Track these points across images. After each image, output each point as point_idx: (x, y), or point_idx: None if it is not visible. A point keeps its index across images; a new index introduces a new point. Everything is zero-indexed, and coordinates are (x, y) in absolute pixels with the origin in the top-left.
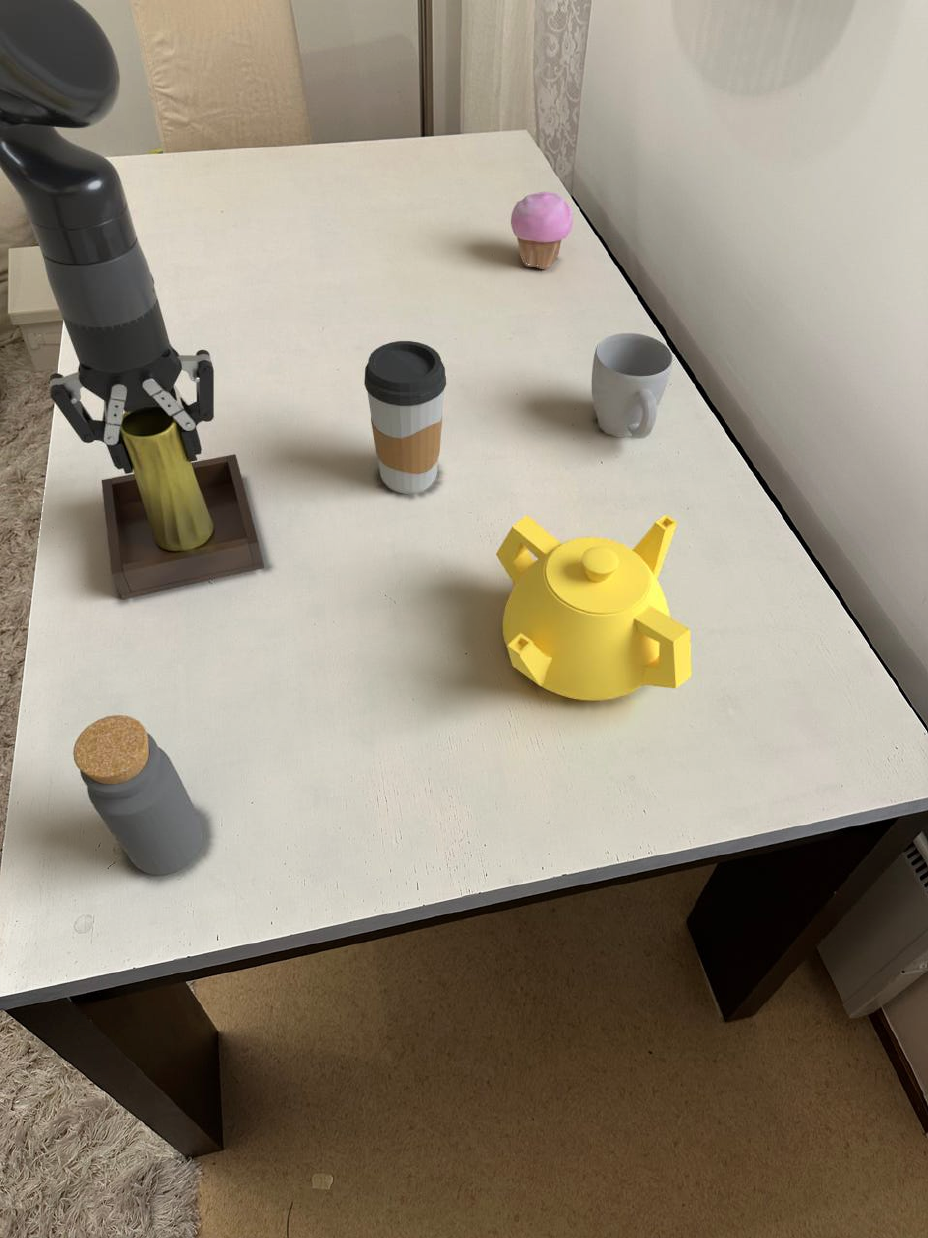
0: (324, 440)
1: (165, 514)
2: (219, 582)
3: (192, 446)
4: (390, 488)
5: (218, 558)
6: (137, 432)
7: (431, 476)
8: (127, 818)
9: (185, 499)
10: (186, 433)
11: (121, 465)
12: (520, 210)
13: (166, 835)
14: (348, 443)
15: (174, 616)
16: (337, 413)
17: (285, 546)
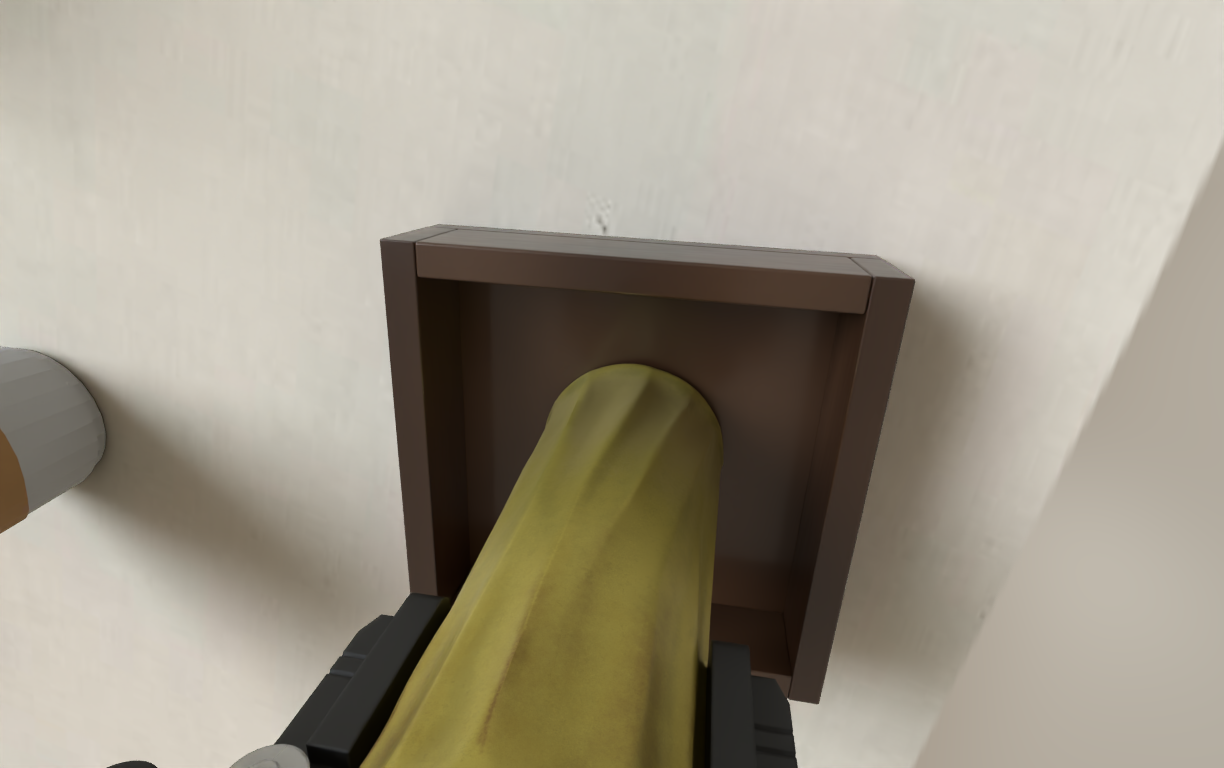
0: (244, 612)
1: (650, 447)
2: (576, 217)
3: (370, 654)
4: (85, 390)
5: (535, 243)
6: None
7: None
8: None
9: (552, 466)
10: (327, 735)
11: (753, 692)
12: None
13: None
14: (189, 580)
15: (741, 117)
16: (211, 678)
17: (371, 289)
